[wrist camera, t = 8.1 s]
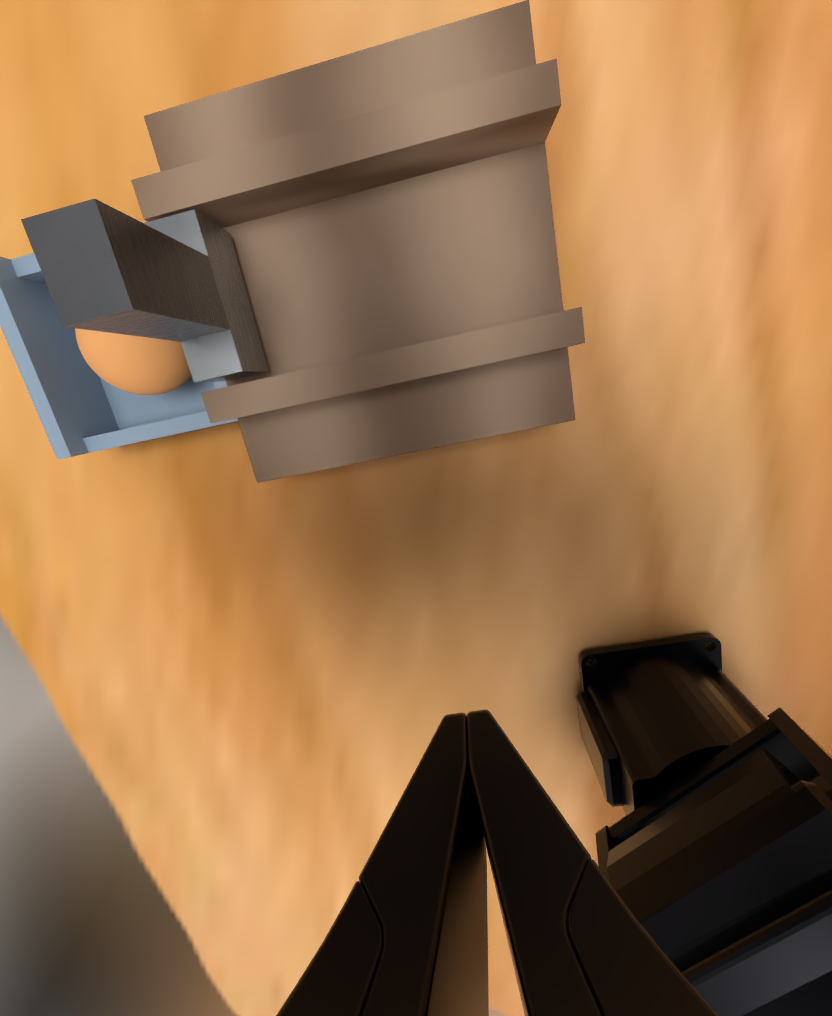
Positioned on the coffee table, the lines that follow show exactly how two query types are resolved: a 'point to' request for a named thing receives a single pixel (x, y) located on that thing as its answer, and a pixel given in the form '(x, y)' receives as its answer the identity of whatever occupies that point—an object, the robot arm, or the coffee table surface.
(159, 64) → the coffee table surface
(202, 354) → the gray stepped block
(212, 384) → the light blue square tray
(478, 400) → the brown stepped block
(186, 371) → the ball
